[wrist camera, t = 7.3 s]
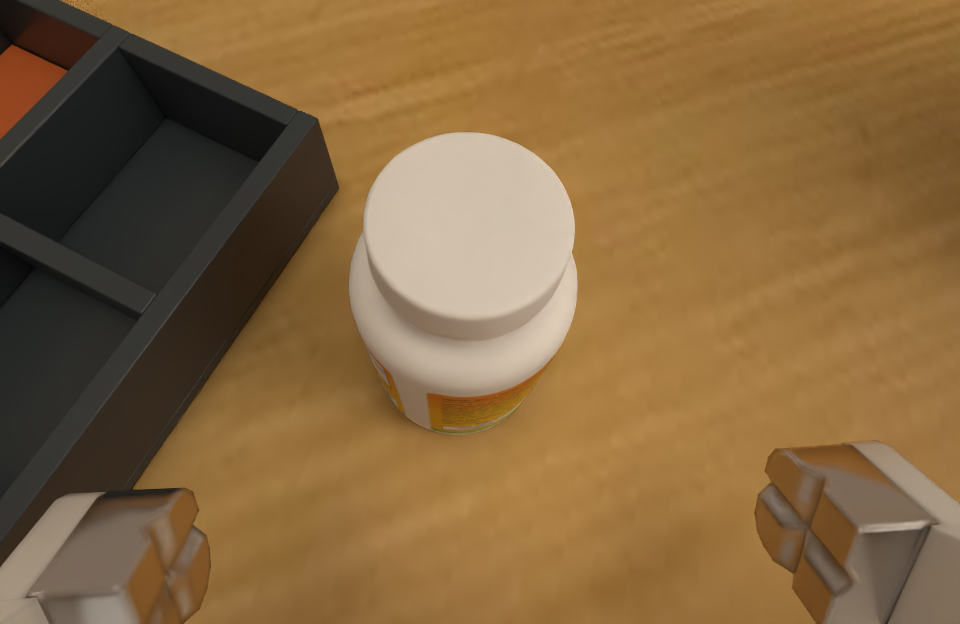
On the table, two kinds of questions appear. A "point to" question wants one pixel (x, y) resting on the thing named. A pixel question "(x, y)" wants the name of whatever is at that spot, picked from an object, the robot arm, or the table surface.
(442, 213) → the supplement bottle
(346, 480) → the table surface
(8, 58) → the black compartment tray
